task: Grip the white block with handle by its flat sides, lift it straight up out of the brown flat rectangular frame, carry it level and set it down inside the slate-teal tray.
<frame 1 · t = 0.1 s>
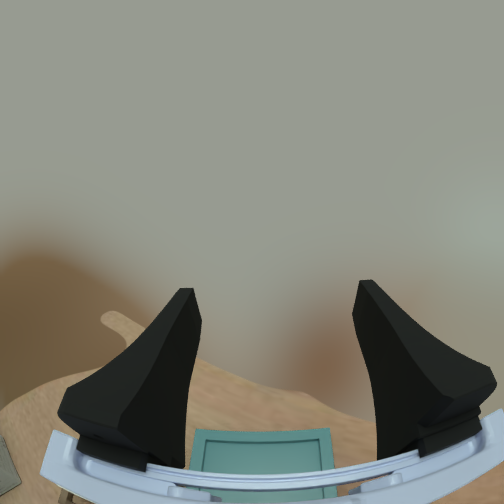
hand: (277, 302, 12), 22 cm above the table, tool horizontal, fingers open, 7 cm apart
tray: (261, 493, 19), on the table
white block with handle: (119, 495, 17), resting in brown flat rectangular frame
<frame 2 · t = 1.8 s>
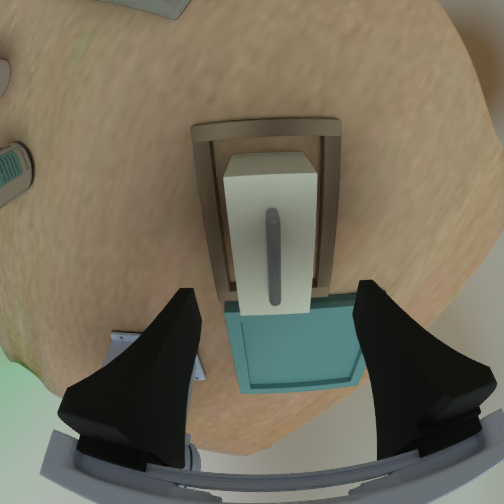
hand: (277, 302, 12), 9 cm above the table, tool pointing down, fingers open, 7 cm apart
tray: (304, 347, 27), on the table
beer can: (20, 166, 17), on the table
brown flat rectangular frame: (270, 216, 19), on the table
smoothie: (0, 79, 12), on the table
white block with handle: (270, 215, 19), resting in brown flat rectangular frame
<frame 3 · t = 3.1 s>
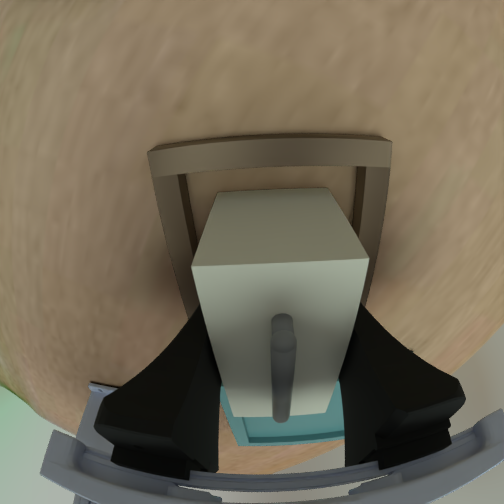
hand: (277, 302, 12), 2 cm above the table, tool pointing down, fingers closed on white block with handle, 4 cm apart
tray: (311, 406, 21), on the table
brown flat rectangular frame: (275, 279, 13), on the table
white block with handle: (275, 279, 13), resting in brown flat rectangular frame, touching gripper
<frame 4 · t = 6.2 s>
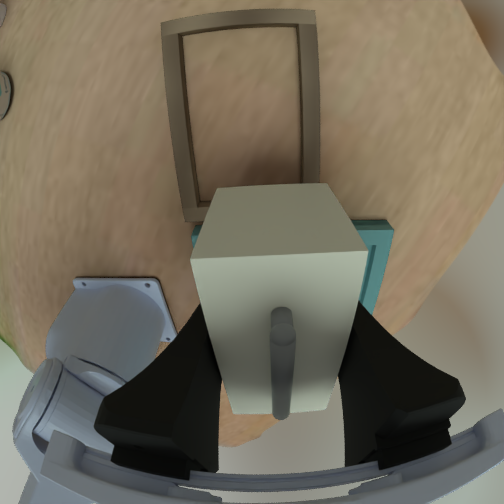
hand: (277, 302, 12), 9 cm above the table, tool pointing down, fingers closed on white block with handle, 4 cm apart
tray: (292, 296, 23), on the table
beer can: (1, 95, 13), on the table
brown flat rectangular frame: (244, 113, 15), on the table
white block with handle: (275, 275, 13), point 7 cm above the table, touching gripper
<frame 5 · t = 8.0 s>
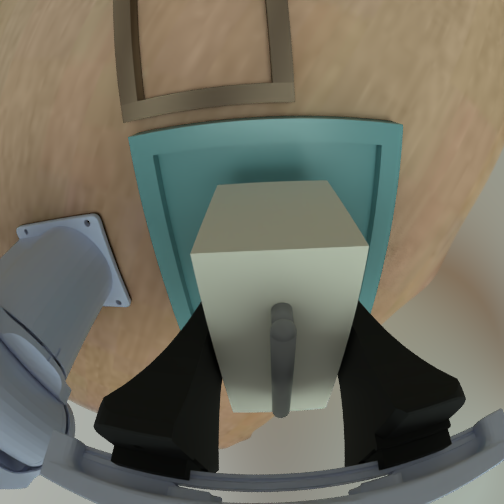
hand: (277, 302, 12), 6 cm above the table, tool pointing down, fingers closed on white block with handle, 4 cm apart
tray: (271, 233, 17), on the table
white block with handle: (275, 273, 13), point 4 cm above the table, touching gripper
when the fingers open (3 cm above the table, at t = 9.4 s): white block with handle stays where it is, resting on tray.
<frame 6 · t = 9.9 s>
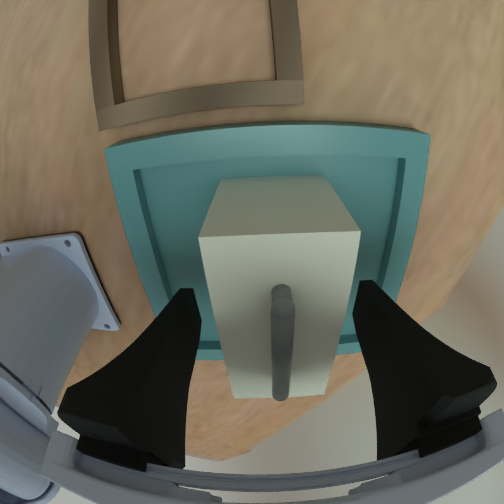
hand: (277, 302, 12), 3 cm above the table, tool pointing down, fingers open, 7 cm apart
tray: (274, 258, 15), on the table
white block with handle: (275, 263, 14), point 1 cm above the table, touching tray
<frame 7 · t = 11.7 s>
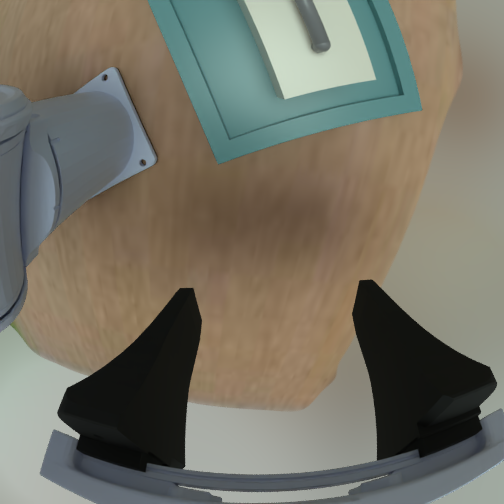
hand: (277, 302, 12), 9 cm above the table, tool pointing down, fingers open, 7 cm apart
tray: (286, 30, 13), on the table
white block with handle: (287, 24, 12), point 1 cm above the table, touching tray
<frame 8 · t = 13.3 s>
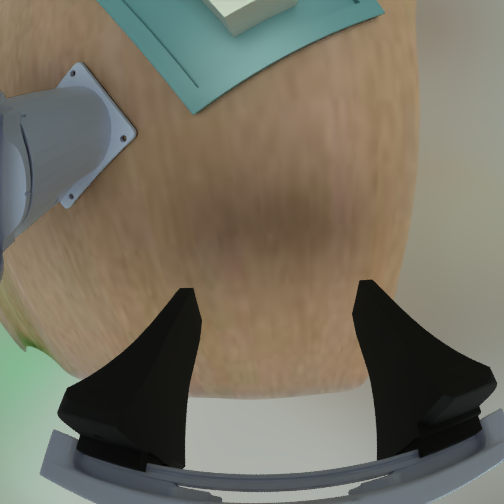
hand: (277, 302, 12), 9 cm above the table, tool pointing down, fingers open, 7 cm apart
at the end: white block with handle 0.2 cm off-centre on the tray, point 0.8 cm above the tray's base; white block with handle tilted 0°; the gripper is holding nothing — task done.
